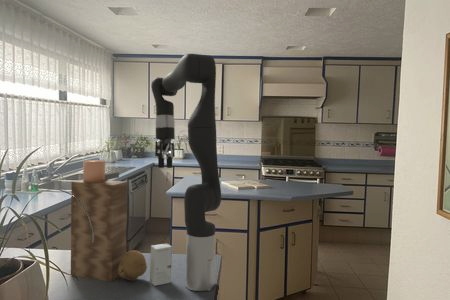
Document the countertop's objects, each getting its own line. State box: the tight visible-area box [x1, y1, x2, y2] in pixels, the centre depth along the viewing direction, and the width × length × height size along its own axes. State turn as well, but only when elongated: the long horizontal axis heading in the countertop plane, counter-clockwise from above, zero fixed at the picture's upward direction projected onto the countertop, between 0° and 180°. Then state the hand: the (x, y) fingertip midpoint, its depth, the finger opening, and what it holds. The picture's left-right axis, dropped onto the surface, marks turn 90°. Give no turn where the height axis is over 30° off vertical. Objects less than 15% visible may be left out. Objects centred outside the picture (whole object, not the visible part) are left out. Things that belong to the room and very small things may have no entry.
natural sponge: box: [118, 249, 148, 281], centre depth 116 cm, size 9×9×10 cm
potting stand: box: [70, 179, 128, 283], centre depth 121 cm, size 16×8×32 cm, turn 74°
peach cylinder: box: [82, 159, 120, 183], centre depth 124 cm, size 7×16×7 cm, turn 164°
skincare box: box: [149, 243, 173, 286], centre depth 116 cm, size 6×4×12 cm
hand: (165, 167), depth 140 cm, fingers open, 8 cm apart
